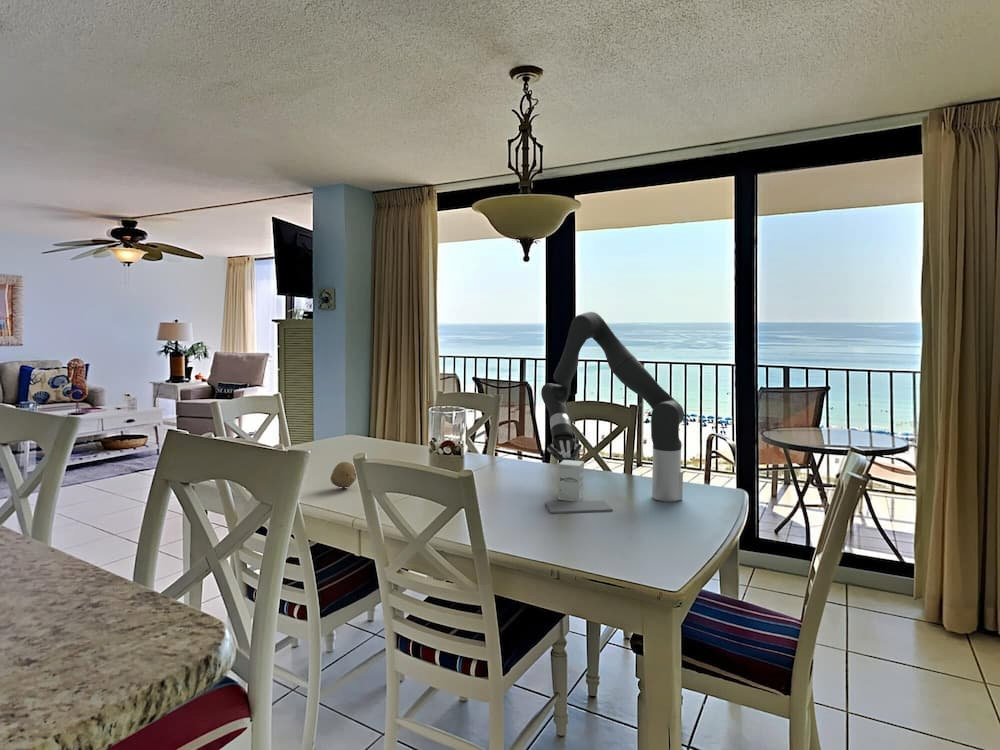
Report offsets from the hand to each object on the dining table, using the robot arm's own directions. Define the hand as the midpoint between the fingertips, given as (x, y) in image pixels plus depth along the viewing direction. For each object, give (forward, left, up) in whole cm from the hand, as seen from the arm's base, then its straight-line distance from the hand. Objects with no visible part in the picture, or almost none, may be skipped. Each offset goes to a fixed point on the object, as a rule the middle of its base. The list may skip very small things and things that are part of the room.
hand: (567, 468), depth 211 cm
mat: (0, +16, -9) cm, 18 cm away
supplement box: (0, +6, -9) cm, 11 cm away
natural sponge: (+79, -15, -9) cm, 81 cm away
